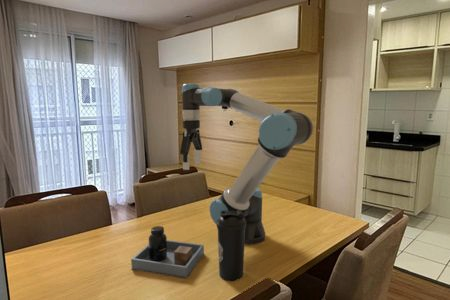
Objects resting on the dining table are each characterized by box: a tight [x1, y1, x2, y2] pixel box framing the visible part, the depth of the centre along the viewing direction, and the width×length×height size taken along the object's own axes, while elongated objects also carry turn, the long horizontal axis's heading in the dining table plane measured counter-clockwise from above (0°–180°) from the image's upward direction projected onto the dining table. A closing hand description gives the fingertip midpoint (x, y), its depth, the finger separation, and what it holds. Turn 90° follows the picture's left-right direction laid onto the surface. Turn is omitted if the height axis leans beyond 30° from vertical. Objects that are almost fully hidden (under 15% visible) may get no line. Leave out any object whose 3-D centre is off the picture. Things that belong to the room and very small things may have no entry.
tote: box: [130, 239, 205, 279], centre depth 114 cm, size 22×18×4 cm
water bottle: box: [216, 210, 246, 282], centre depth 104 cm, size 10×10×23 cm
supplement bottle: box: [148, 225, 168, 262], centre depth 115 cm, size 7×7×12 cm
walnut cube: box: [174, 246, 192, 266], centre depth 113 cm, size 5×5×5 cm
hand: (192, 166), depth 136 cm, fingers open, 13 cm apart
